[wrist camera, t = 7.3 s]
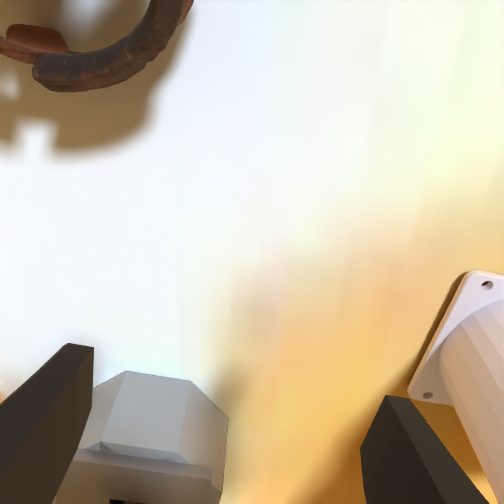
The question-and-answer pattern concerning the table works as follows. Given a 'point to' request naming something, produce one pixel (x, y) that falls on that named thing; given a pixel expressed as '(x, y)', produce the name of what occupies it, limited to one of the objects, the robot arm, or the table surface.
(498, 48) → the table surface
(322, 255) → the table surface
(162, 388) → the gray faceted block
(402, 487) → the robot arm
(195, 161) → the table surface
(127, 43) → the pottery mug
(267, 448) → the table surface
